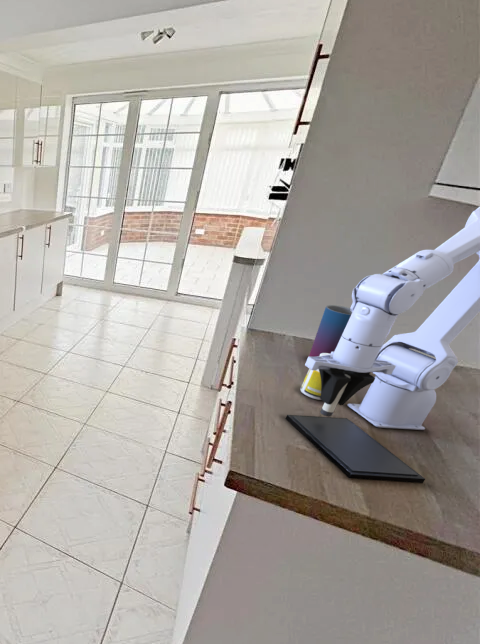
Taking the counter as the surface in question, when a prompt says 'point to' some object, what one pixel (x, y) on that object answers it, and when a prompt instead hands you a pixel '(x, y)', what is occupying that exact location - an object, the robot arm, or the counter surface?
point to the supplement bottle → (312, 383)
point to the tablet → (353, 449)
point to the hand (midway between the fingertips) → (331, 401)
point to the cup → (330, 329)
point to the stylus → (330, 408)
